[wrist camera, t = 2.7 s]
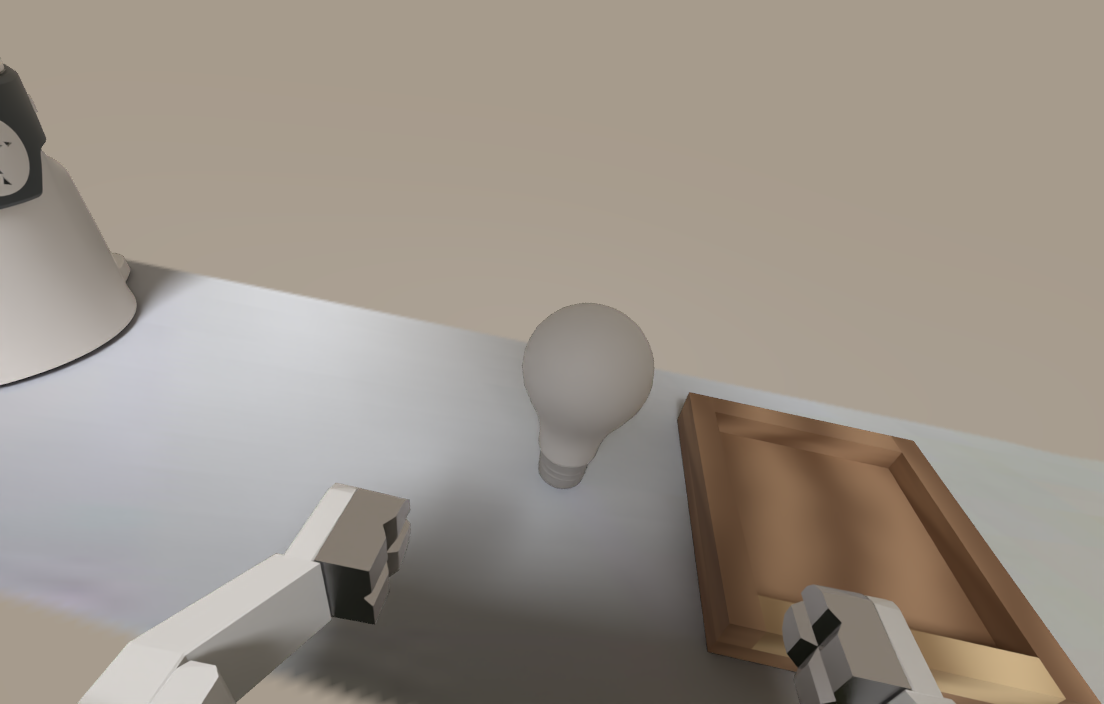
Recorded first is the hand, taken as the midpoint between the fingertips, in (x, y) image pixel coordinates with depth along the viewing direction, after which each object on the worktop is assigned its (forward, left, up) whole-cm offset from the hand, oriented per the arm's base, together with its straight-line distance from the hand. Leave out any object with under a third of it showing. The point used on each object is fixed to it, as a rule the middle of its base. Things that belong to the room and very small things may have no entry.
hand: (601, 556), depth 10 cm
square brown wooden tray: (+15, +12, -12) cm, 23 cm away
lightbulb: (0, +12, -12) cm, 17 cm away
